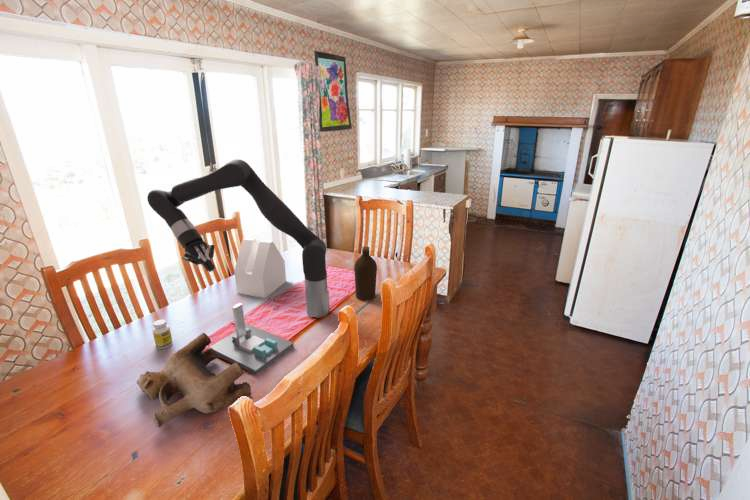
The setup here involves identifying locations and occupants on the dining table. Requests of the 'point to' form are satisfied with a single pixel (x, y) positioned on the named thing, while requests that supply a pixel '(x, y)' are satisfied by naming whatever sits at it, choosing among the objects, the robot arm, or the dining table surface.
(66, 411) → the dining table surface
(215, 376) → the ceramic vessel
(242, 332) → the latch lever
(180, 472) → the dining table surface
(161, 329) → the supplement bottle
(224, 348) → the base plate
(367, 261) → the olive oil
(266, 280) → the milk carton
